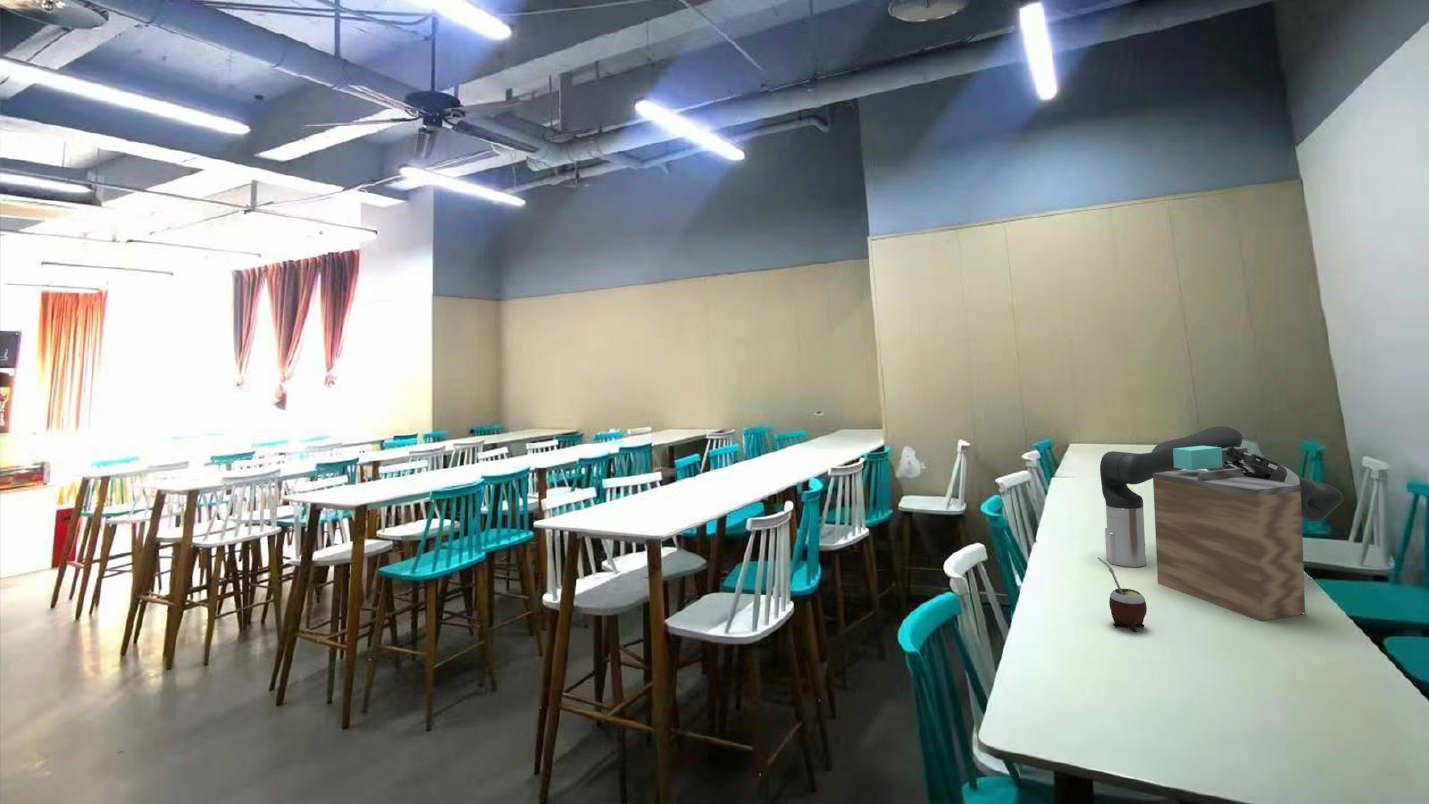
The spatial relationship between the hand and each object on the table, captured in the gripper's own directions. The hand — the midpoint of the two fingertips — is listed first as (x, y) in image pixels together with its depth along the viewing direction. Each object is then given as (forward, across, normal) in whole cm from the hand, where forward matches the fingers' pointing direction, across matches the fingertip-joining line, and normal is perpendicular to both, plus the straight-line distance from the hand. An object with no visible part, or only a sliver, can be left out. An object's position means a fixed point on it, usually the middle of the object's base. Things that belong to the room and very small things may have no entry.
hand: (1222, 449), depth 153 cm
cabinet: (-10, +7, +35) cm, 37 cm away
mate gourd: (+19, +13, +53) cm, 58 cm away
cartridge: (+1, 0, +5) cm, 5 cm away
